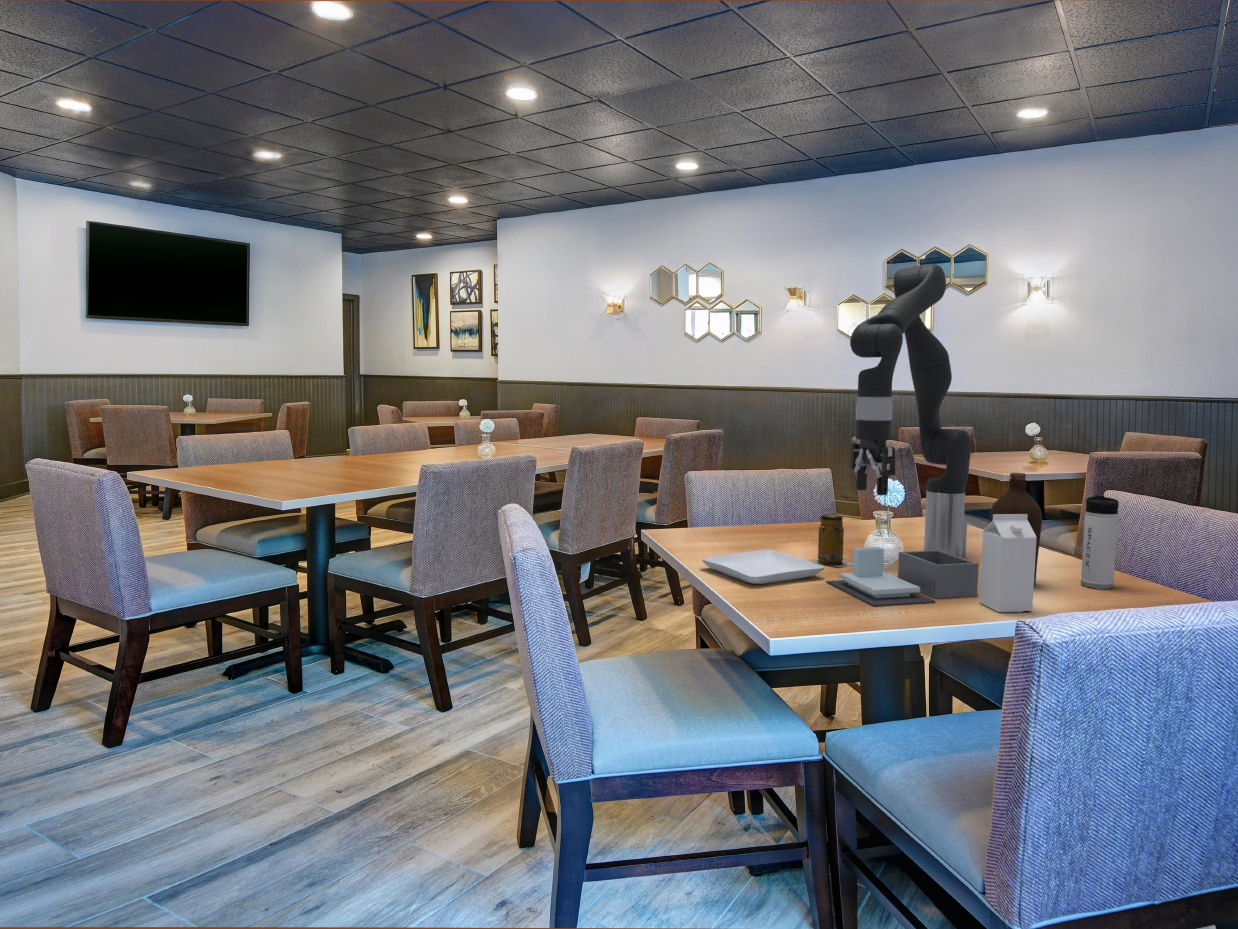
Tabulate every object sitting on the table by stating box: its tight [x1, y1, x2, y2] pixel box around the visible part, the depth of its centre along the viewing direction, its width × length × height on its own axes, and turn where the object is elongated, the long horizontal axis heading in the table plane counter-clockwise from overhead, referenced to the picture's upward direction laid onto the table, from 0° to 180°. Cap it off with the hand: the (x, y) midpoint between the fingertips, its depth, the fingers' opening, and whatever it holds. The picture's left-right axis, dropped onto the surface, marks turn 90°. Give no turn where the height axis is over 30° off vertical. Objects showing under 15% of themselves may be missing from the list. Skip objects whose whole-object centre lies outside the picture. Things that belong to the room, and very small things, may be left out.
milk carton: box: [978, 514, 1036, 613], centre depth 162 cm, size 7×7×19 cm
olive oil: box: [989, 472, 1043, 587], centre depth 182 cm, size 11×11×25 cm
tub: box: [897, 550, 980, 600], centre depth 177 cm, size 14×10×7 cm
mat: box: [826, 579, 936, 608], centre depth 174 cm, size 14×20×1 cm
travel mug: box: [1080, 495, 1120, 590], centre depth 180 cm, size 6×7×20 cm
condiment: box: [809, 513, 853, 568], centre depth 202 cm, size 7×8×12 cm
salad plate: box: [700, 549, 826, 585], centre depth 191 cm, size 21×21×3 cm
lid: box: [838, 546, 921, 598], centre depth 174 cm, size 15×11×8 cm
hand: (871, 492), depth 177 cm, fingers open, 8 cm apart
